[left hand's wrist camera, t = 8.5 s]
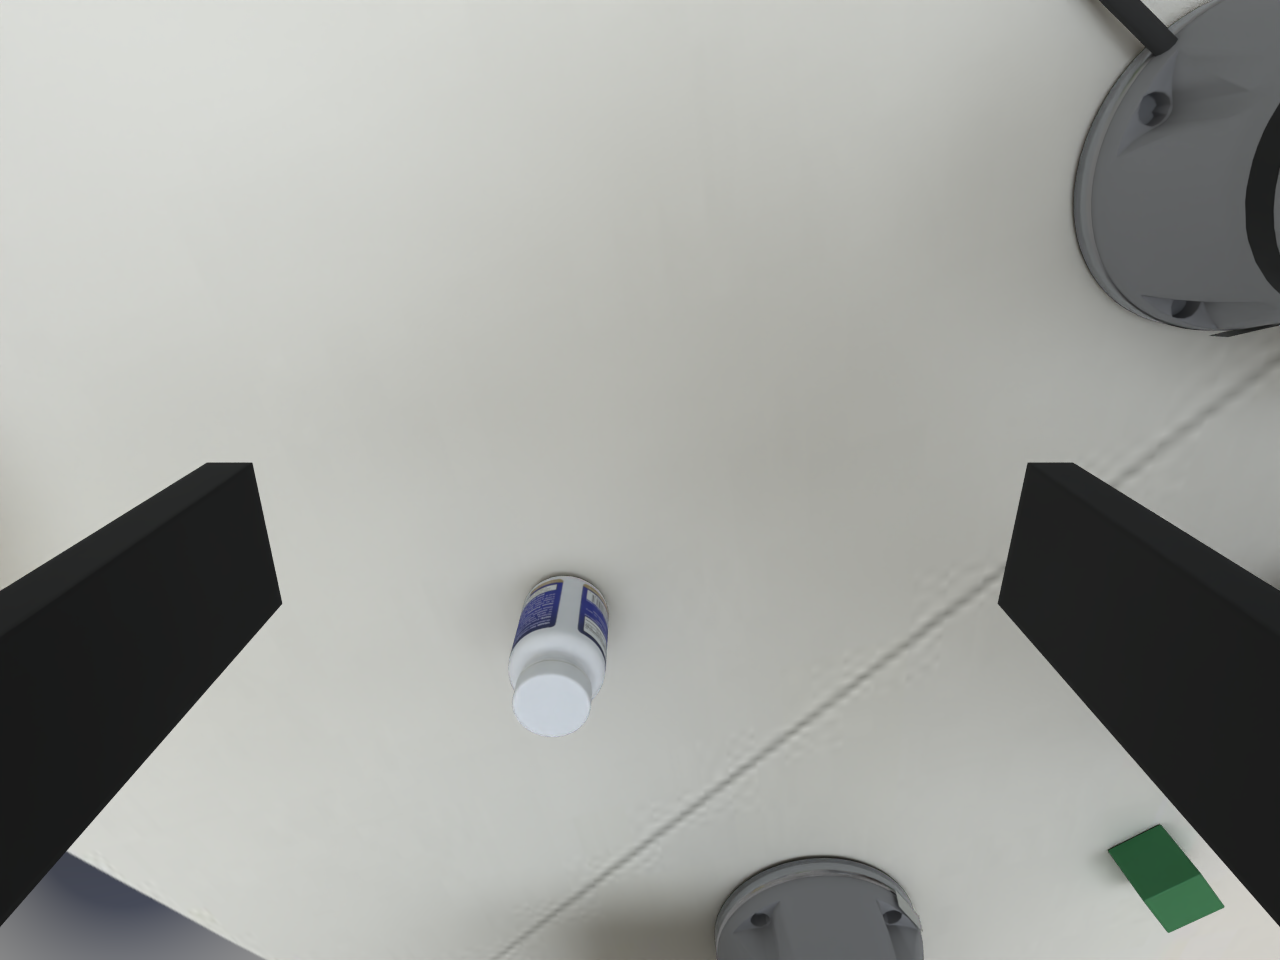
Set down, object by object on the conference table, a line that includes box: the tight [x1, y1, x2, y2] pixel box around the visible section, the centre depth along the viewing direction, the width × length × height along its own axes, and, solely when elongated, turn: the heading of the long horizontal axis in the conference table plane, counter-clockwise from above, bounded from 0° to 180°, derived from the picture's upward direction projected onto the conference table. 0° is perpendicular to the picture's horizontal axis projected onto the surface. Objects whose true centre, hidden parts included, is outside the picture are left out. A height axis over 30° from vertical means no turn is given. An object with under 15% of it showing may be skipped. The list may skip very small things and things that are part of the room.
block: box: [1108, 825, 1224, 933], centre depth 50 cm, size 4×4×4 cm
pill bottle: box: [508, 576, 608, 737], centre depth 40 cm, size 5×5×9 cm
